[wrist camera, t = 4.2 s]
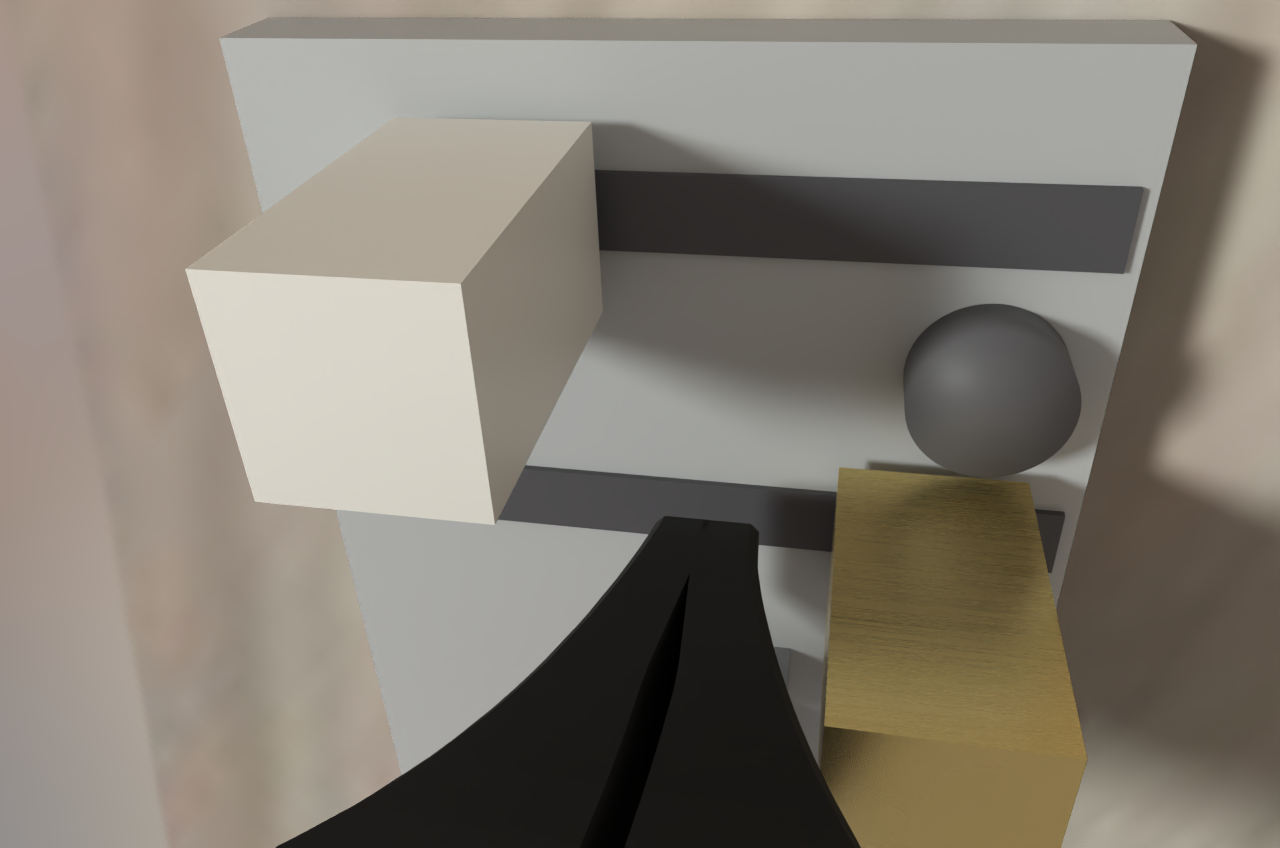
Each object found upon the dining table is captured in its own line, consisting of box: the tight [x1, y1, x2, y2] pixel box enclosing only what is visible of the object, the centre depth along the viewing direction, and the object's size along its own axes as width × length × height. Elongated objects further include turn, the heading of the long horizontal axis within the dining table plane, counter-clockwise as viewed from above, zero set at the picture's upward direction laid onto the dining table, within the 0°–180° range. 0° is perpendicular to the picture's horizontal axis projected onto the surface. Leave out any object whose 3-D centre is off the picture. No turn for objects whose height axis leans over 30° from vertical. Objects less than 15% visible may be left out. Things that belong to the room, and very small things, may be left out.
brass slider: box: [817, 467, 1087, 848], centre depth 12 cm, size 2×2×4 cm
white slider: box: [185, 117, 603, 525], centre depth 11 cm, size 2×2×4 cm
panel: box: [220, 18, 1197, 775], centre depth 15 cm, size 15×11×3 cm
